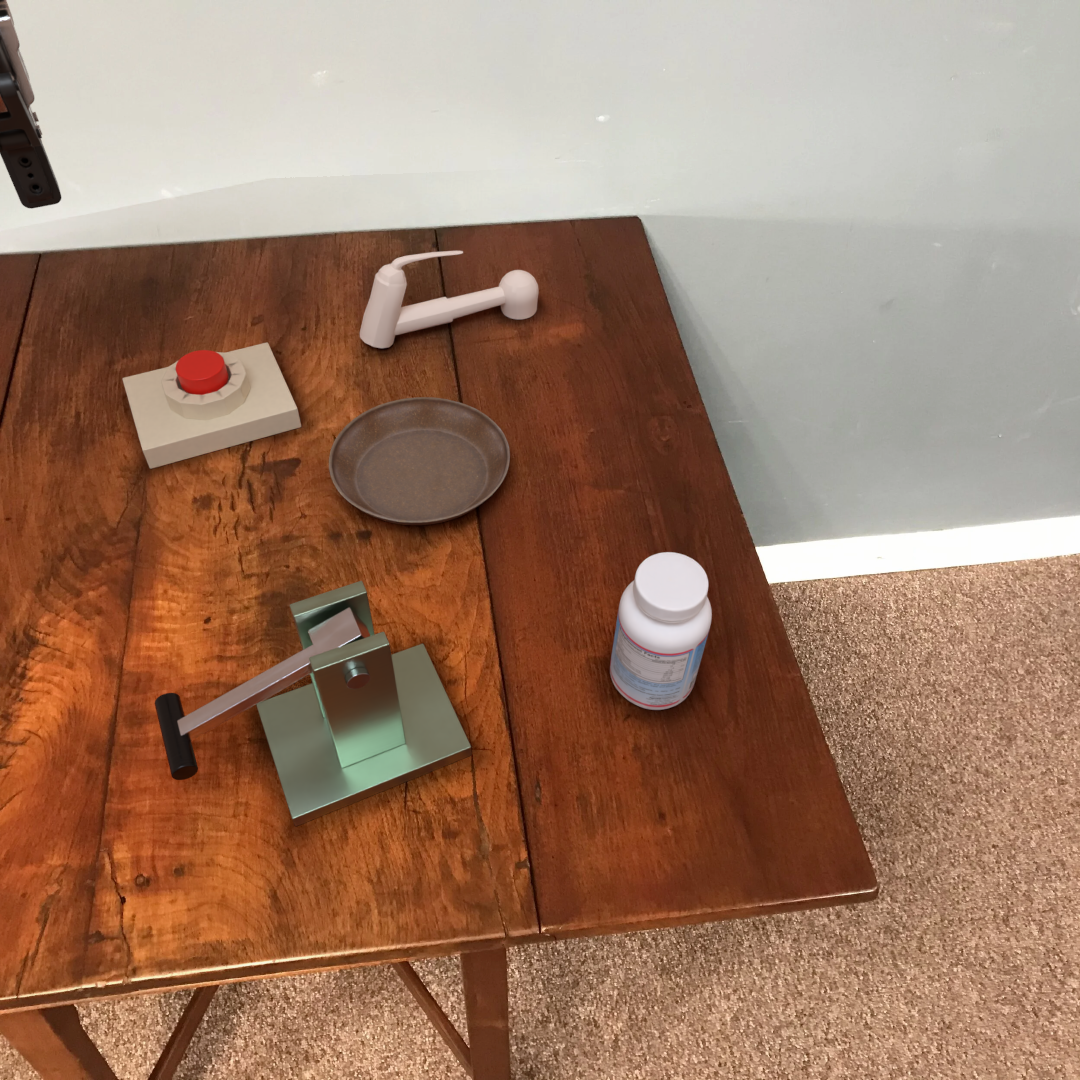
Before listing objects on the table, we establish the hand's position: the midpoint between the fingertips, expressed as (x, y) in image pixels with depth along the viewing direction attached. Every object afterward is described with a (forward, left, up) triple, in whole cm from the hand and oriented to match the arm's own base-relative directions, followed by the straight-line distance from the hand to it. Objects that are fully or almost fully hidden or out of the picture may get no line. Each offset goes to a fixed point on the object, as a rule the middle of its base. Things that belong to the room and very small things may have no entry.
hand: (42, 200), depth 55 cm
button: (+6, +10, -23) cm, 26 cm away
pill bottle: (+28, -30, -27) cm, 49 cm away
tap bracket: (+8, -26, -27) cm, 38 cm away
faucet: (+30, +14, -27) cm, 43 cm away
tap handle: (+3, -26, -19) cm, 32 cm away
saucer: (+20, -5, -27) cm, 34 cm away
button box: (+6, +10, -27) cm, 29 cm away
